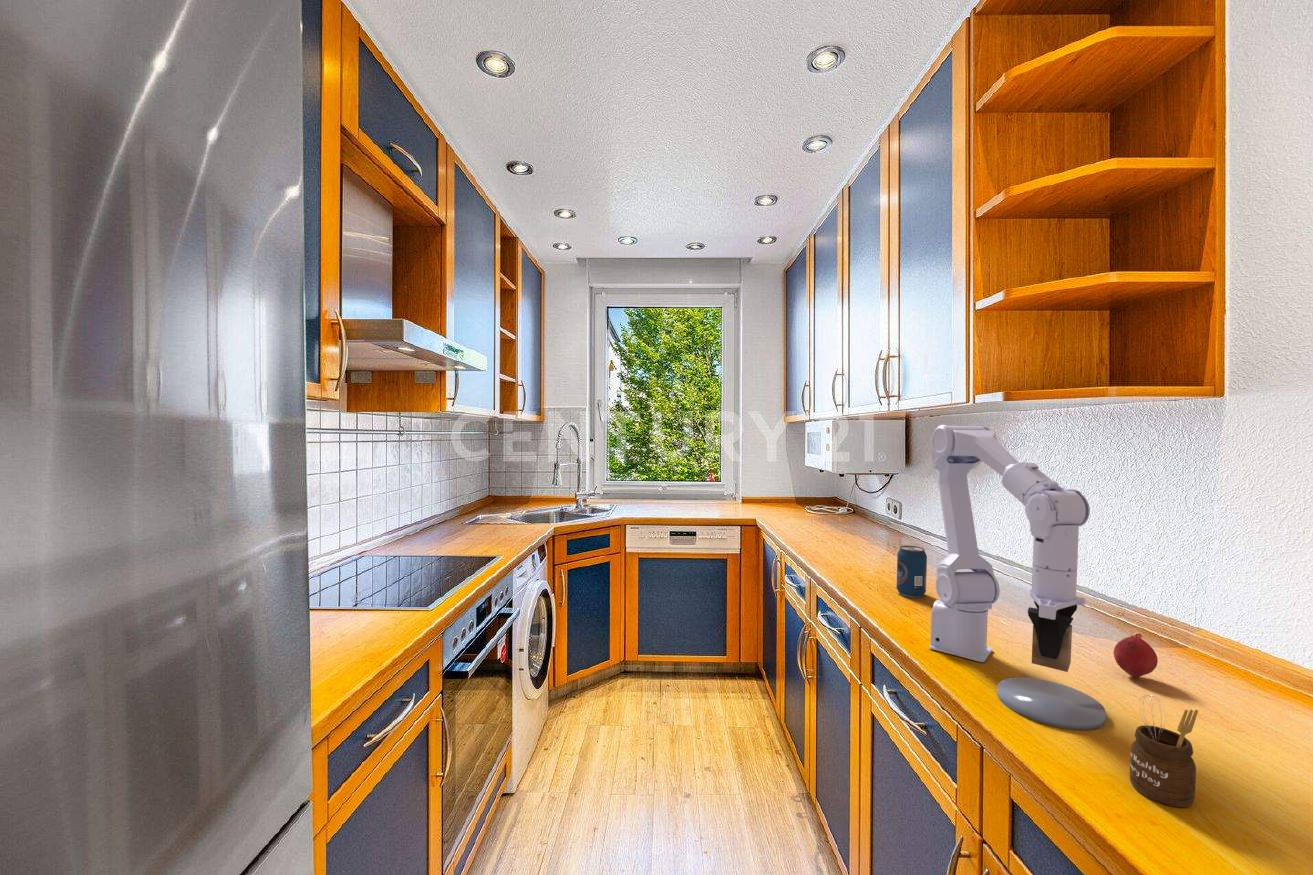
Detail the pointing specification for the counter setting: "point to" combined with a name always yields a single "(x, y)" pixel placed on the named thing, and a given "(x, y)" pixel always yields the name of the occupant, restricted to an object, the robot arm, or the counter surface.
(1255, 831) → the counter surface
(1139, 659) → the onion
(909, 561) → the soda can
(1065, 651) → the walnut stool block
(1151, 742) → the utensil holder
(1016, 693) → the plate
